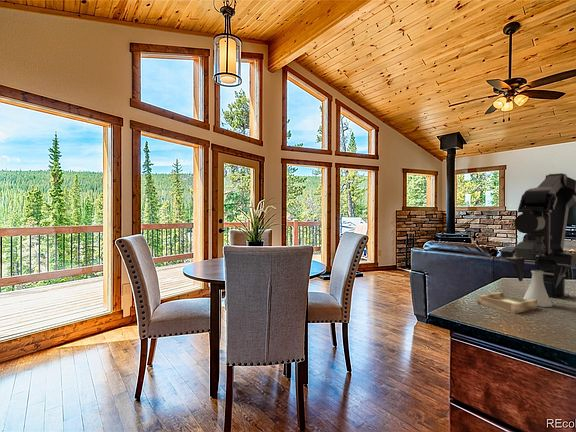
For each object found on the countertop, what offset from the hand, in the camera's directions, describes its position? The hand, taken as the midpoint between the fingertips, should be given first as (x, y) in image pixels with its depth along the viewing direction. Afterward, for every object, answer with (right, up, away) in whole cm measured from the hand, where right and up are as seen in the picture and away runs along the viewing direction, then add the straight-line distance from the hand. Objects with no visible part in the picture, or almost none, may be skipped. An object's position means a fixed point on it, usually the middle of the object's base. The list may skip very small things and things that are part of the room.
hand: (537, 284), depth 100 cm
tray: (-10, -6, -2) cm, 12 cm away
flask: (0, -6, 0) cm, 6 cm away
